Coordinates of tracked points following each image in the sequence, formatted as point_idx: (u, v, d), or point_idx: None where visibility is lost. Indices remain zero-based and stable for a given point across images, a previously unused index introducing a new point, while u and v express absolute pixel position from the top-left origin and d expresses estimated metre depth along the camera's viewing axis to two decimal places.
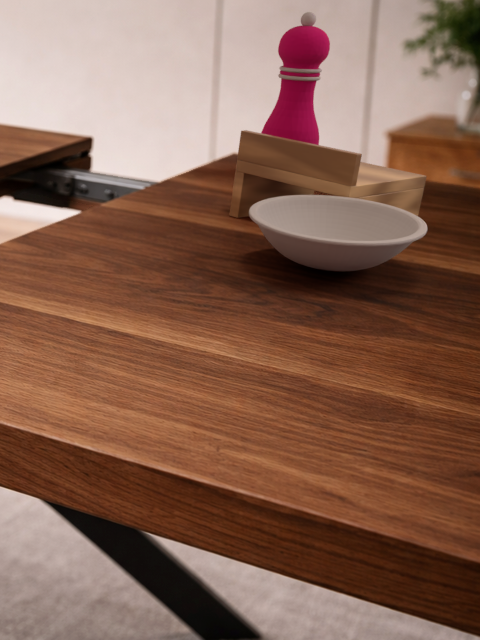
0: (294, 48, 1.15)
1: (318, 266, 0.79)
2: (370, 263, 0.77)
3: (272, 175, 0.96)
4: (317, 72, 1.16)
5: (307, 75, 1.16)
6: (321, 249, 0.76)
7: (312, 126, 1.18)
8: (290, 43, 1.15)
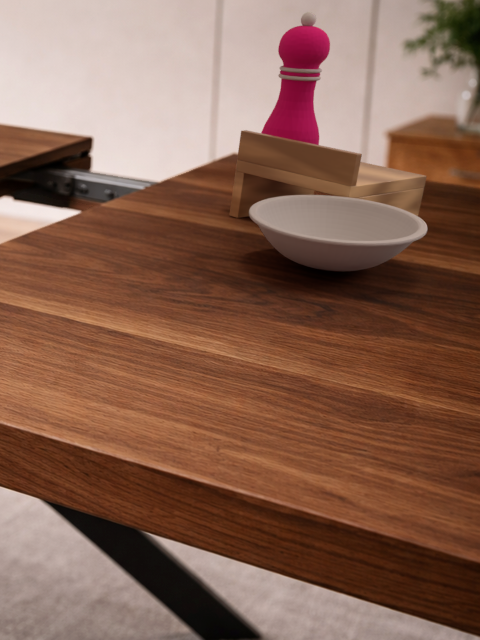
0: (294, 47, 1.15)
1: (318, 266, 0.79)
2: (370, 263, 0.77)
3: (272, 175, 0.96)
4: (317, 72, 1.16)
5: (307, 75, 1.16)
6: (321, 249, 0.76)
7: (312, 126, 1.18)
8: (290, 43, 1.15)
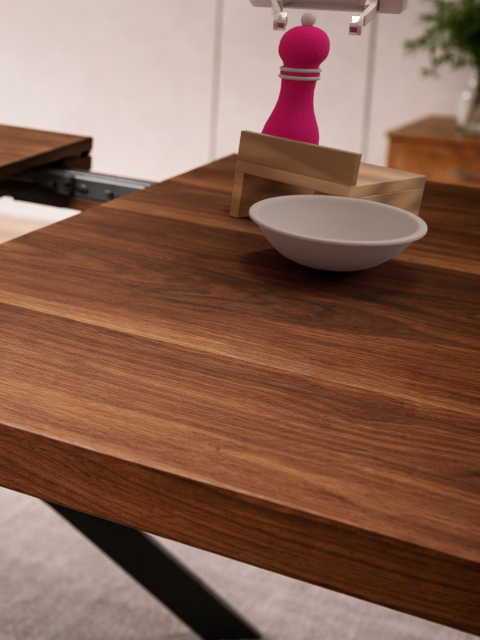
0: (294, 47, 1.15)
1: (318, 266, 0.79)
2: (370, 263, 0.77)
3: (272, 175, 0.96)
4: (317, 72, 1.16)
5: (307, 75, 1.16)
6: (321, 249, 0.76)
7: (312, 126, 1.18)
8: (290, 43, 1.15)
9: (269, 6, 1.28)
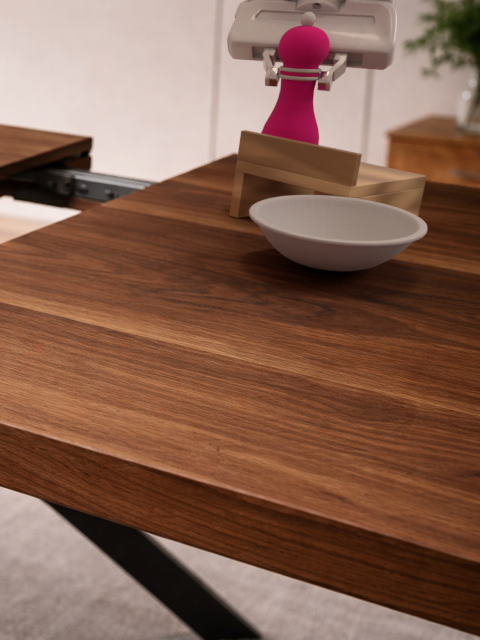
0: (293, 47, 1.15)
1: (318, 266, 0.79)
2: (370, 263, 0.77)
3: (272, 175, 0.96)
4: (317, 72, 1.16)
5: (307, 75, 1.16)
6: (321, 249, 0.76)
7: (312, 126, 1.18)
8: (290, 43, 1.15)
9: (249, 59, 1.24)
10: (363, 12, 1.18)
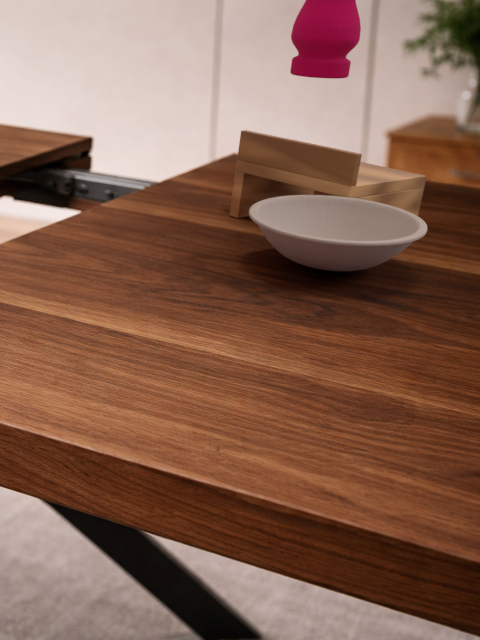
0: None
1: (318, 266, 0.79)
2: (370, 263, 0.77)
3: (272, 175, 0.96)
4: None
5: None
6: (321, 249, 0.76)
7: (353, 14, 1.03)
8: None
9: None
10: None
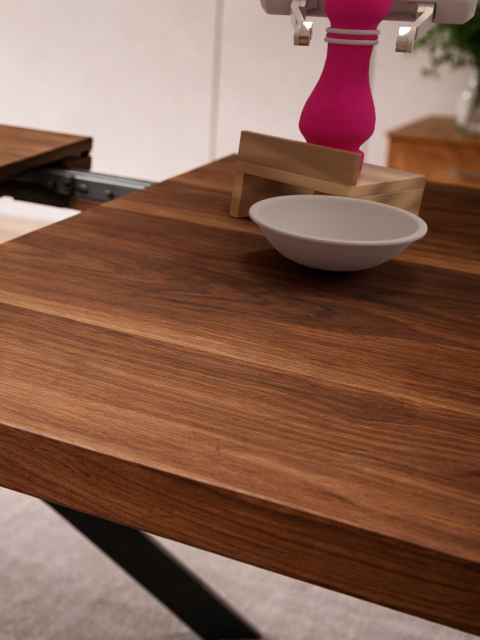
0: (346, 2, 0.89)
1: (318, 266, 0.79)
2: (370, 263, 0.77)
3: (272, 175, 0.96)
4: (375, 34, 0.91)
5: (363, 38, 0.90)
6: (321, 249, 0.76)
7: (368, 104, 0.93)
8: None
9: (287, 13, 0.98)
10: None
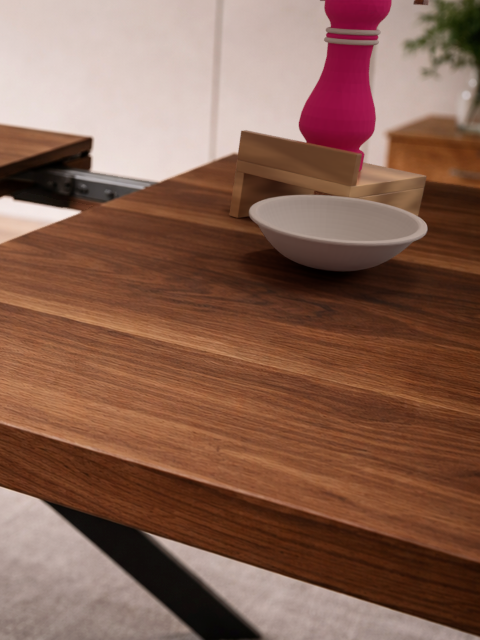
0: (346, 2, 0.89)
1: (318, 266, 0.79)
2: (370, 263, 0.77)
3: (272, 175, 0.96)
4: (375, 34, 0.91)
5: (363, 38, 0.90)
6: (321, 249, 0.76)
7: (368, 104, 0.93)
8: None
9: None
10: None
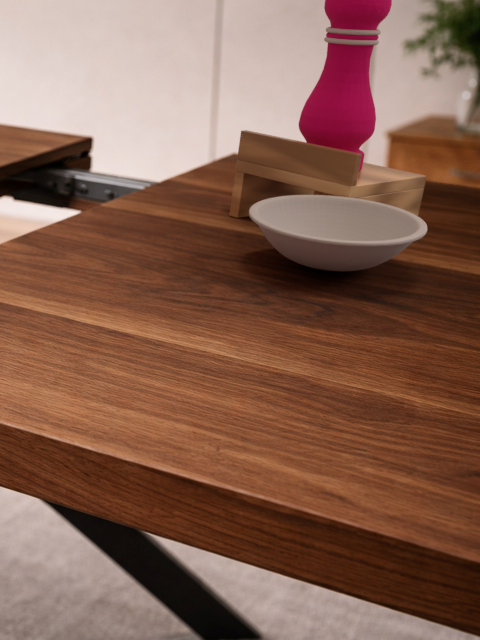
0: (346, 2, 0.89)
1: (318, 266, 0.79)
2: (370, 263, 0.77)
3: (272, 175, 0.96)
4: (375, 34, 0.91)
5: (363, 38, 0.90)
6: (321, 249, 0.76)
7: (368, 104, 0.93)
8: None
9: None
10: None
